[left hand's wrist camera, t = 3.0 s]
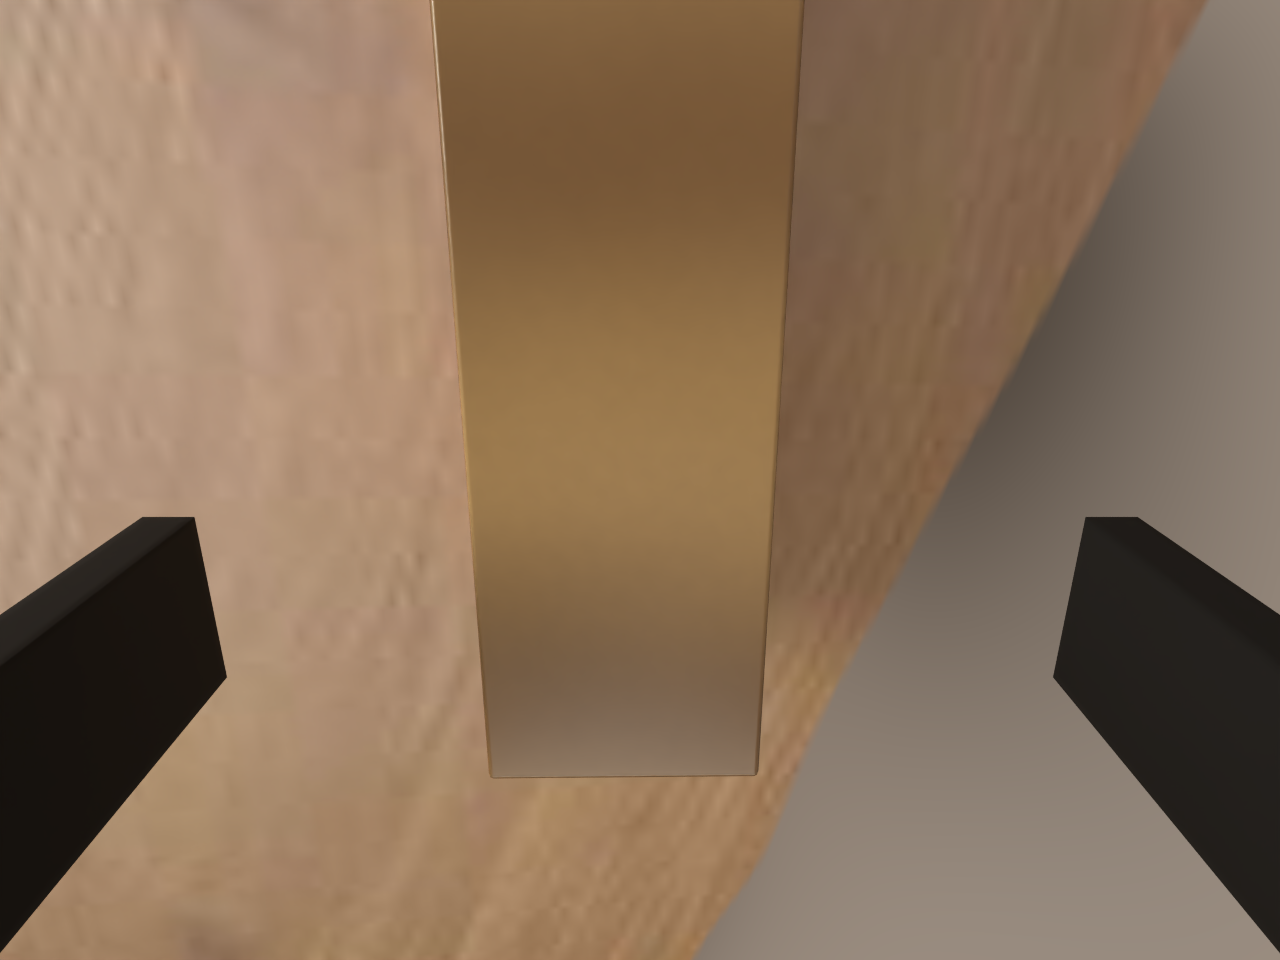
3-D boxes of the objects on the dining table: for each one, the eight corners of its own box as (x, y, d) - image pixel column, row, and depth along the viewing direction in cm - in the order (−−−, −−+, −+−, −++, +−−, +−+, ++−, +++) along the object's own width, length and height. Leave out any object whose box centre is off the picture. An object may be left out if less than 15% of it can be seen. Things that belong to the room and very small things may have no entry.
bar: (714, 576, 22) (758, 778, 15) (535, 577, 22) (488, 780, 14) (751, -493, 15) (876, -1171, 7) (483, -496, 15) (336, -1185, 7)
